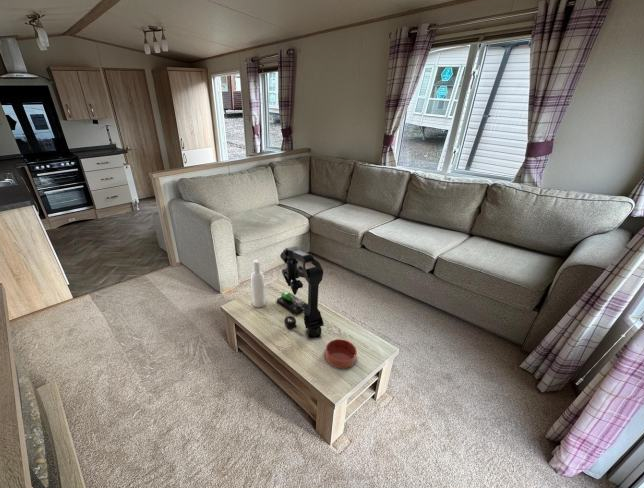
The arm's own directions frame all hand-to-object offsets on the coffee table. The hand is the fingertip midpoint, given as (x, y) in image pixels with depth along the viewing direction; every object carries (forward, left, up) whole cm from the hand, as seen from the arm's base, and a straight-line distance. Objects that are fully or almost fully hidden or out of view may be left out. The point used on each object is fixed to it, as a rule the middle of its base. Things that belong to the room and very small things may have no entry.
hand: (292, 290), depth 175 cm
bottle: (-20, +4, -11) cm, 23 cm away
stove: (0, 0, -11) cm, 11 cm away
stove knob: (+3, -5, -8) cm, 10 cm away
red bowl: (+18, -43, -11) cm, 48 cm away
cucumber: (-2, +3, -8) cm, 9 cm away
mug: (-2, -21, -11) cm, 24 cm away
